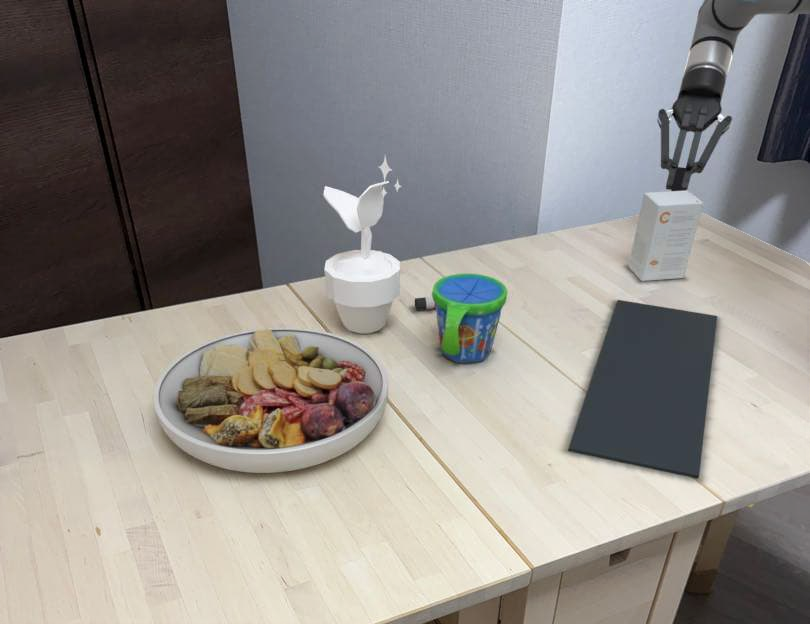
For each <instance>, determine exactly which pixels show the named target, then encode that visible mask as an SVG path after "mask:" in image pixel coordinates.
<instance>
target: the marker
mask: <svg viewBox="0 0 810 624" xmlns="http://www.w3.org/2000/svg"><path fill="white" fill-rule="evenodd" d="M414 309H415V311H429V310H436V305H435V302H434V300H433V298H432V295H431V296H424V297H415V298H414Z"/></svg>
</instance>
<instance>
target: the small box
mask: <svg viewBox="0 0 810 624" xmlns="http://www.w3.org/2000/svg"><path fill="white" fill-rule="evenodd" d="M704 205H705V203H704V202H703V201H702V200H701V199H699V198H698V197H697V196H695V194H693V193H691V191H690V190H688V189H687V190H685V191H671V190H670V191H669V190H668V191H657V192H656V191H651V192H644V193H643V197H642V201H641V206H640V210H639V215H638V220H637V225H636V230H635V234H634V239H633V243H632V249H631V252H630V257H629V262H628V268H629V269H630V271H632V273H633V274H634V275H635V276H636V277H637V279H639V281H641V282H645V281H646V282H647V281H661V280H673V279H674V280H677V279H684V276H685V274H686V269H687V266H688V263H689V258H690V255H691V252H692V248H693V244H694V240H695V238H696V237H695V236H696V233H697V229H698V225H699V221H700V218H701V214H702V211H703V206H704Z"/></svg>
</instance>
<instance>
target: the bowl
mask: <svg viewBox="0 0 810 624" xmlns="http://www.w3.org/2000/svg"><path fill="white" fill-rule="evenodd" d="M388 396H389V378H388V374H387V372H386V369H385V366H384V365H383V363H382V361H380V359H379V358H378V357H377V356H376V355H375V354H374V353H372V351H370V350H369V349H368V348H367V347H365V346H363V345H362V344H359V343H358V342H356V341H354V340H352V339H350V338H347V337H345V336H342V335H338V334H336V333H332V332H328V331H323V330H318V329H313V328H304V327H285V326H284V327H283V326H281V327H280V326H279V327H263V328H255V329H250V330H242V331H238V332H233V333H229V334H225V335H222V336H219V337H216V338H213V339H210V340H208V341H205V342H202V343H201V344H199V345H195V346H194V347H192V348H190V349H189V350H187V351H186V352H184V353H182V354H181V355H179V356H177V358H175V359H174V360H173V361H172V362H171V363H170V364H169V365H168V366H167V367H166V368H165V369H164V370H163V372H162V373H161V374H160V375H159V377H158V378H157V380H156V383H155V386H154V389H153V394H152V403H153V407H154V408H153V409H154V411H155V415H156V418H157V420H158V423H159V425H160V427H161V429H162V430H163V431H164V433H165V434H166V435H167V437H168V438H169V439H170V441H172V443H174V444H175V445H176V446H177V447H178V448H179V449H181V451H183V452H185V453H186V454H188V455H190V456H192V457H193V458H195V459H197V460H199V461H201V462H203V463H205V464H209V465H212V466H214V467H217V468H221V469H224V470H225V469H226V470H231V471H235V472H241V473H242V472H243V473H254V474H255V473H256V474H268V473H269V474H271V473H272V474H275V473H285V472H291V471H297V470H302V469H307V468H311V467H313V466H317V465H321V464H324V463H326V462H329V461H331V460H333V459H336V458H337V457H340V456H342V455H344V454H345V453H347V452H349V451H350V450H352V449H353V448H354V447H356V446H357V445H359V444H360V443H361V442H363V440H365V438H367V437H368V436H369V435H370V434H371V433H372V431H374V429H375V428H376V426H377V425H378V423H379V422H380V420H381V418H382V416H383V414H384V412H385V409H386V407H387V403H388Z"/></svg>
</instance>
